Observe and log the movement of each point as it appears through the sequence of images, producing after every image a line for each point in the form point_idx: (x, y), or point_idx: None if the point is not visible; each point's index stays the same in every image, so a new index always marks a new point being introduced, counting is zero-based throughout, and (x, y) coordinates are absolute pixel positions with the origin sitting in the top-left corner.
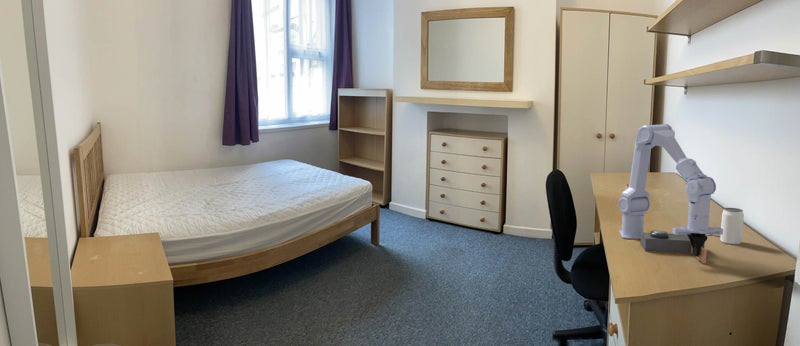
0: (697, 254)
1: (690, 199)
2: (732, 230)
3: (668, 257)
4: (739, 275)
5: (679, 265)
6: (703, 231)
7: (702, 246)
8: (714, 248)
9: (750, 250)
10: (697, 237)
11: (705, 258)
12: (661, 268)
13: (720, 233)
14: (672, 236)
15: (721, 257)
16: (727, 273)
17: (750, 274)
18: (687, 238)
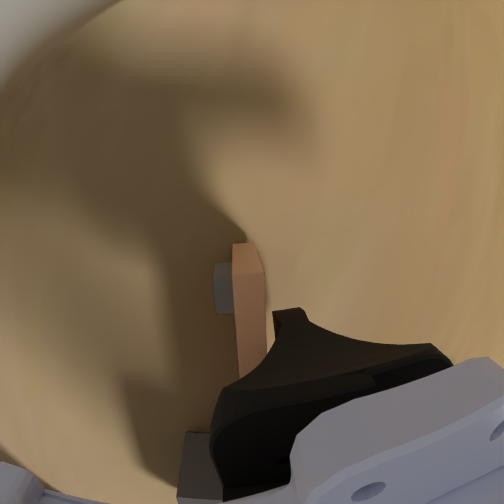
0: (291, 311)
1: None
2: None
3: (418, 342)
4: (93, 55)
5: (418, 195)
6: (453, 452)
7: (192, 468)
8: (122, 485)
9: (7, 445)
10: (411, 377)
11: (238, 252)
12: (498, 141)
13: (14, 479)
14: None
15: (99, 388)
16: (148, 68)
17: (31, 96)
18: None
